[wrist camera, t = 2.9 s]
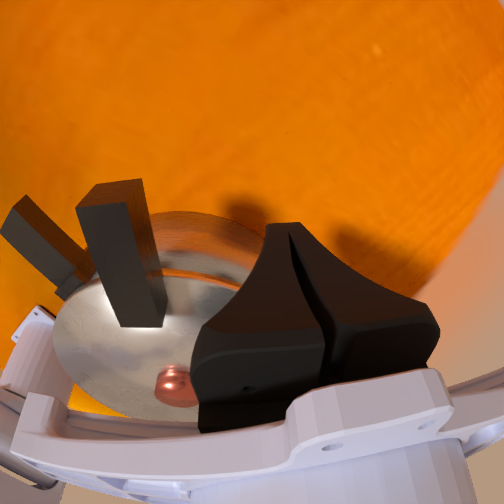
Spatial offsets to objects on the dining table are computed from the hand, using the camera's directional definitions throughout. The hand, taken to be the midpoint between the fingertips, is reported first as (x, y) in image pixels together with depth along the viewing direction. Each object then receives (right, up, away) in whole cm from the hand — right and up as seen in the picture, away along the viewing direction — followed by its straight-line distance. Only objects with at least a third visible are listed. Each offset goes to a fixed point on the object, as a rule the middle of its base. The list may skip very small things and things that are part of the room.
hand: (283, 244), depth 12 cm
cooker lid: (-6, -6, +6) cm, 10 cm away
